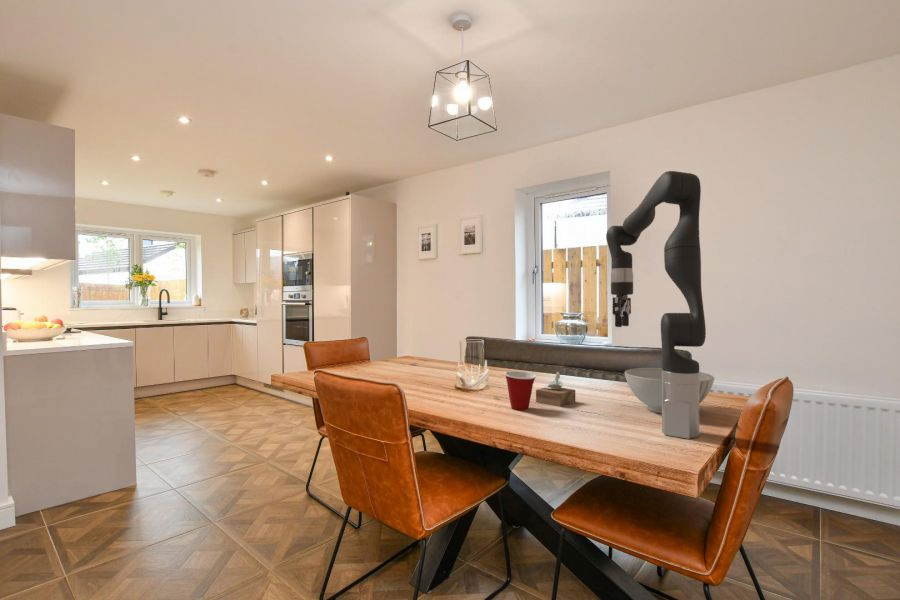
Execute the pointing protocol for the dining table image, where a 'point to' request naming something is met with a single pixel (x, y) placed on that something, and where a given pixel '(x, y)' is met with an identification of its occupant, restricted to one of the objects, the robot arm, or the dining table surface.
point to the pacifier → (555, 383)
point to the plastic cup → (519, 388)
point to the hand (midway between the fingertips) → (622, 326)
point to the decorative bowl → (659, 386)
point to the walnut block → (555, 396)
